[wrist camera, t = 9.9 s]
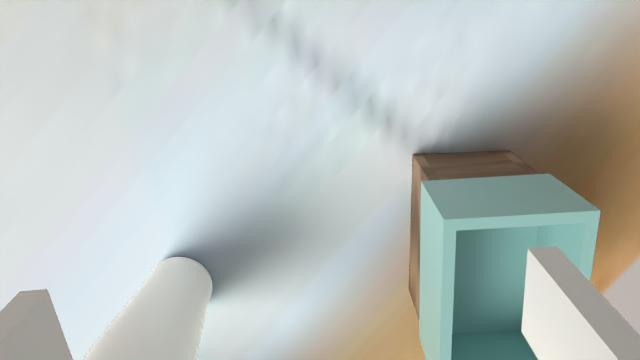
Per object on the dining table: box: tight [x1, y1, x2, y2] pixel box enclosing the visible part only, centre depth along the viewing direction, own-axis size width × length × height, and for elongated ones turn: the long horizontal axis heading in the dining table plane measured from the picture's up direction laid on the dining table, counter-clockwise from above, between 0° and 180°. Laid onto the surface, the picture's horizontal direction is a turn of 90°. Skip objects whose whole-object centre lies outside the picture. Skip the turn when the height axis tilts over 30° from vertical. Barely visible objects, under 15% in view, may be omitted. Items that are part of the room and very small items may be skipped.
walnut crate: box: [409, 151, 539, 319], centre depth 36 cm, size 12×7×6 cm, turn 2°
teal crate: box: [419, 174, 601, 360], centre depth 31 cm, size 12×8×7 cm
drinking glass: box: [82, 257, 213, 360], centre depth 34 cm, size 7×7×15 cm
